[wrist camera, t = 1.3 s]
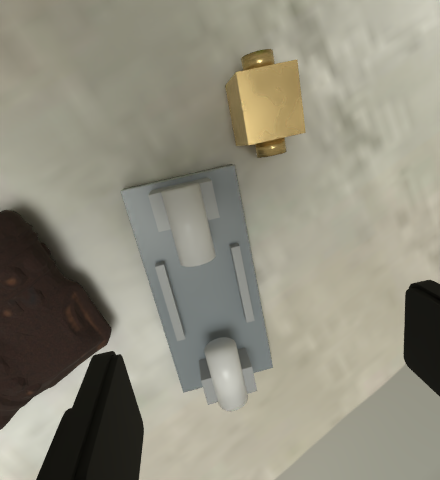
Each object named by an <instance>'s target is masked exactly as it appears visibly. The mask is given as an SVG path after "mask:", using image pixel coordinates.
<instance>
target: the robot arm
mask: <svg viewBox="0 0 440 480" xmlns="http://www.w3.org/2000/svg"><path fill="white" fill-rule="evenodd" d="M404 360H405V362H406V364H407V366H408V367H409V368H410V369H411V370H412V371H413V372H414V373H415V374H416V375H417V376H418V377H420V378H421V379H422V380H423V381H424V382H425V383H426V384H427V385H428V386H429V387H430V388H431V389H432V390H433V391H434V392H436V393H437V394H438V395H439V396H440V284H438V283H436V282H434V281H432V280H426V281H421V282H417V283H413V284H411V285H410V286H409V289H408V290H407V291H406V295H405V328H404ZM143 435H144V428H143V421H142V418H141V414H140V411H139V408H138V405H137V402H136V399H135V395H134V392H133V389H132V386H131V383H130V380H129V376H128V373H127V370H126V367H125V364H124V361H123V358H122V356H121V355H120V354H119V355H116V354H115V352H114V351H110V352H106V353H101V354H97V355H94V356H93V357H92V359H91V361H90V364H89V367H88V369H87V372H86V374H85V377H84V379H83V382H82V384H81V387H80V389H79V392H78V394H77V397H76V399H75V402H74V405H73V407H72V408H70V409H68V410H67V411H65V413H64V415H63V417H62V419H61V421H60V424H59V426H58V429H57V431H56V433H55V436H54V438H53V441H52V443H51V445H50V448H49V450H48V453H47V455H46V457H45V460H44V462H43V465H42V467H41V469H40V472H39V474H38V476H37V479H36V480H139V472H140V463H141V454H142V444H143Z"/></svg>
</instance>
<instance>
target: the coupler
mask: <svg viewBox="0 0 440 480" xmlns="http://www.w3.org/2000/svg"><path fill="white" fill-rule="evenodd" d="M241 61H242V67H243V71H239V72H236V73H235V74H234V75H233V77H232V78H231V79H230V80H229V82H228V83H227V84H226V86H225V88H226V93H227V98H228V104H229V109H230V115H231V120H232V126H233V131H234V136H235V142H236V146H244V145H252V144H255V146H256V152H257V158H261V157H268V156H273V155H277V154H281V153H285V152H286V145H285V138H284V137H288V136H292V135H297V134H301V133H305V124H304V115H303V106H302V98H301V89H300V80H299V71H298V63H297V60H293V61H288V62H283V63H278V64H274V56H273V50H271V49H265V50H260V51H256V52H252V53H250V54H247V55H245V56H243V57H242V58H241Z"/></svg>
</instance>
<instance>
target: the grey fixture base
mask: <svg viewBox="0 0 440 480" xmlns="http://www.w3.org/2000/svg"><path fill="white" fill-rule="evenodd" d="M121 194H122V197H123V201H124V204H125V207H126V210H127V213H128V217H129V220H130V223H131V226H132V229H133V233H134V236H135V239H136V242H137V245H138V249H139V252H140V255H141V258H142V261H143V265H144V268H145V271H146V274H147V277H148V281H149V284H150V287H151V290H152V293H153V297H154V300H155V303H156V306H157V309H158V313H159V316H160V319H161V322H162V325H163V329H164V332H165V335H166V338H167V341H168V345H169V348H170V351H171V354H172V357H173V361H174V364H175V367H176V370H177V373H178V377H179V380H180V383H181V386H182V389H183V393H184V392H187V391H191V390H194V389H198V388H201V387H203V389H204V393H205V396H206V400H207V403H208V405H209V404H213V403H216V402H218V404H219V406H220V407H221V408H222V409H224V410H226V411H235V410H238V409H240V408H241V407H243V406H244V405H245V403H246V402H247V399H248V393H252V392H255V391H257V388H256V383H255V378H254V374H253V373H255V372H259V371H262V370H266V369H270V368H273V365H272V360H271V355H270V349H269V344H268V339H267V334H266V328H265V323H264V318H263V313H262V307H261V302H260V297H259V291H258V286H257V281H256V276H255V270H254V265H253V260H252V255H251V249H250V244H249V239H248V233H247V228H246V223H245V218H244V212H243V207H242V202H241V197H240V191H239V186H238V181H237V175H236V170H235V165H232V164H231V165H227V166H222V167H218V168H213V169H209V170H205V171H200V172H196V173H191V174H187V175H183V176H178V177H174V178H170V179H165V180H161V181H156V182H152V183H148V184H143V185H139V186H134V187H130V188H126V189H123V190H121Z"/></svg>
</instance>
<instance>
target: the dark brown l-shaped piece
mask: <svg viewBox="0 0 440 480" xmlns="http://www.w3.org/2000/svg"><path fill="white" fill-rule="evenodd" d="M50 254H51V252H50V250H49V249H48V248H47V246H46V245H45V244H43V243H40V242H39V240H38V234H37V233H35V232H34V231H33V230H32V226H31V225H29V224H28V223H26V222H25V221H24V220H23V218H22V217H21V216H20V215H19V214H18V213H16V212H14V211H11V210H4V211H1V212H0V430H1V429H2V428H3V427H4V426H5V425H6V424H7V423H8V422H9V421H10V419H11V418H12V417H13V416H14V415H15V413H16V412H17V411H18V410H19V409H20V408H21V407H23V406H24V405H26V404H27V403H28V402H29V401H30V400H31V399H32V398H33V397H35V396H36V395H38V394H39V393H41V392H43V391H44V390H46V389H48V388H51V387H53V386H54V385H56V384H57V383H58V382H59V381H60V380H62V379H63V378H64V377H66V376H67V375H68V374H69V373H70V372H71V371H73V370H74V369H75V368H76V367H77V366H78V365H80V364H81V363H82V362H84V361H85V360H86V359H88V358H89V357H90V356H92V355H93V354H94V353H95V352H97V351H98V350H100V349H101V348H103V347H104V346H106V345H107V343H108V341H109V338H110V335H111V327H110V326H109V324H108V323H107V321H106V320H105V319H104V317H103V316H102V315H101V313H100V312H99V311H98V309H97V308H96V306H95V305H94V304H93V302H92V301H91V300H90V298H89V296H88V295H87V293H86V292H85V290H84V289H83V287H82V286H81V285H80V284H79V283H77V282H74V281H71V280H69V279H67V278H65V277H64V276H63V274H62V273H61V272H60V271H59V269H58V268H57V266H56V264H55V261H54V260H53V259H51V258H50Z"/></svg>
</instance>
